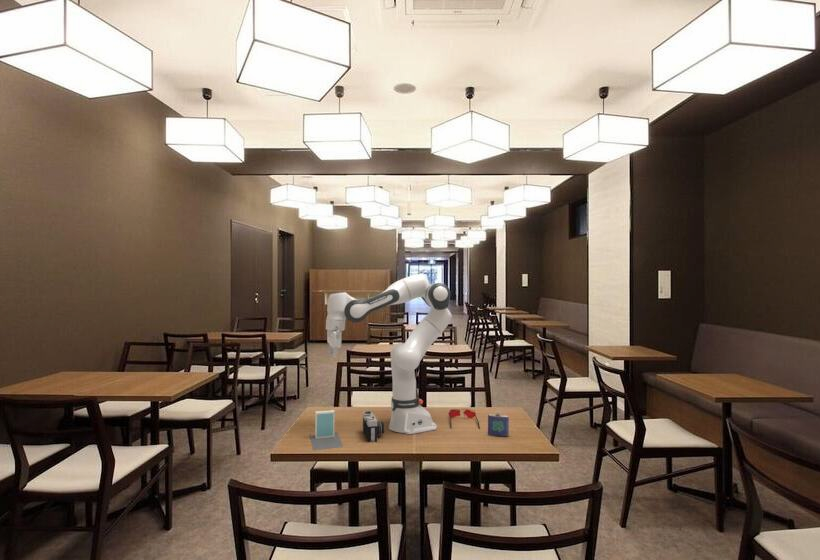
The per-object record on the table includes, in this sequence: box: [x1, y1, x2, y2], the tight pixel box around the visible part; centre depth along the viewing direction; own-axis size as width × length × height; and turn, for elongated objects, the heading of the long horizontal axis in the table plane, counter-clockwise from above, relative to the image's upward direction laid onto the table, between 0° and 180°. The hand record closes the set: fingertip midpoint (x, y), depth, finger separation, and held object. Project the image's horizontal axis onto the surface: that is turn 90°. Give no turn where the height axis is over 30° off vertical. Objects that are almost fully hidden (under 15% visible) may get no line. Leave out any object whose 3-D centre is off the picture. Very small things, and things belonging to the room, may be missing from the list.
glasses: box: [448, 408, 481, 430], centre depth 212 cm, size 14×16×5 cm
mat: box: [309, 432, 344, 451], centre depth 185 cm, size 12×18×1 cm, turn 17°
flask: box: [487, 411, 510, 438], centre depth 195 cm, size 9×3×11 cm, turn 78°
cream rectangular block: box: [314, 409, 336, 438], centre depth 190 cm, size 8×3×11 cm, turn 107°
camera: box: [362, 411, 385, 443], centre depth 191 cm, size 14×9×10 cm, turn 8°
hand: (332, 355), depth 202 cm, fingers open, 8 cm apart
